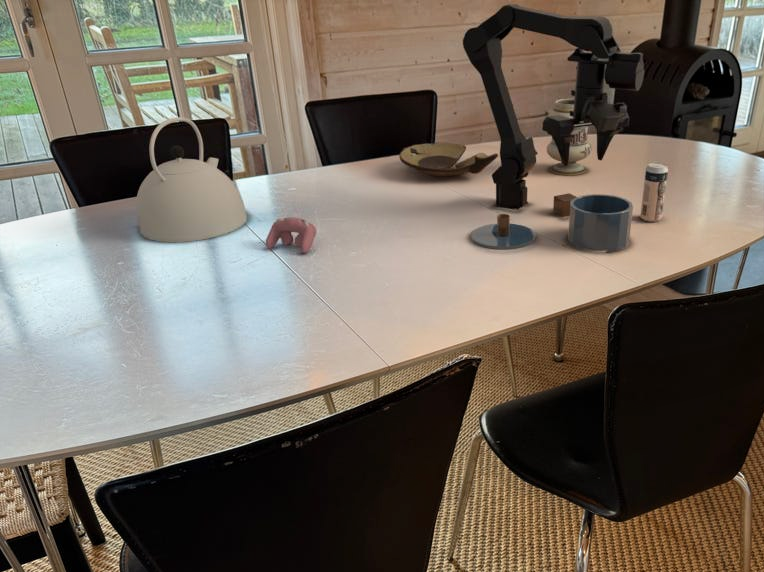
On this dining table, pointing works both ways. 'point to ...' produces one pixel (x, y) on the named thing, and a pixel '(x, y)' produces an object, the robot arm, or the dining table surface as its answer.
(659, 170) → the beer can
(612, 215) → the pot
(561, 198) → the block
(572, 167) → the apothecary jar
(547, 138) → the dining table surface
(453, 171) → the oil lamp
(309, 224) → the video game controller
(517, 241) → the lid
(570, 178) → the dining table surface
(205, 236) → the kettle
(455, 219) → the dining table surface
